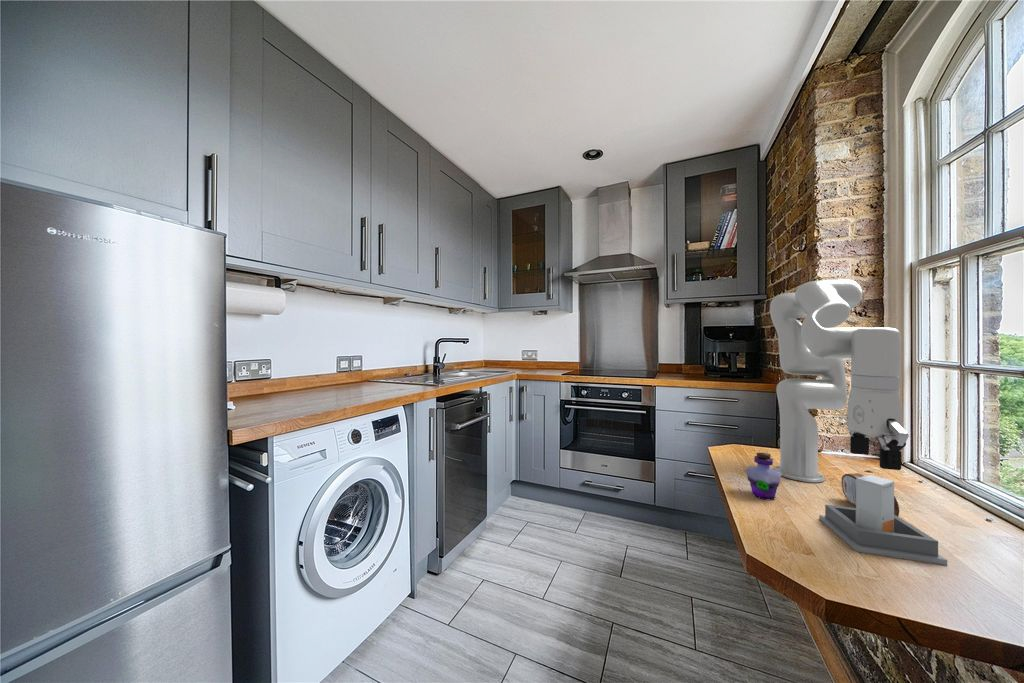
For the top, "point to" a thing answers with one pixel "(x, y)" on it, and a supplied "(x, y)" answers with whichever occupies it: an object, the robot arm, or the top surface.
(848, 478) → the tin
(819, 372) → the robot arm
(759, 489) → the potion bottle
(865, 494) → the skincare box
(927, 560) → the grey square tray
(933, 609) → the top surface
